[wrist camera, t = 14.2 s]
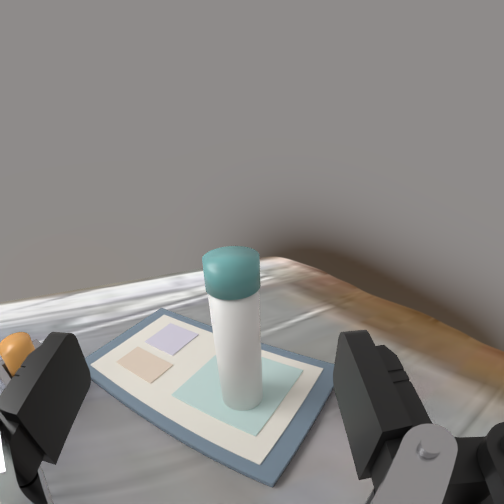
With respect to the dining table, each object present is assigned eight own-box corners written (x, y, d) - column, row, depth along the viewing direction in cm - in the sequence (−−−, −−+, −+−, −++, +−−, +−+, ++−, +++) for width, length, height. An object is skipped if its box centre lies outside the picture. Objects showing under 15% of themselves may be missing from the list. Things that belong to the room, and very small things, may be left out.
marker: (212, 401, 23) (190, 261, 19) (236, 376, 26) (224, 243, 21) (249, 417, 22) (238, 273, 17) (271, 389, 24) (269, 251, 20)
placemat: (77, 368, 27) (75, 362, 27) (162, 311, 37) (161, 306, 37) (272, 487, 16) (272, 483, 16) (342, 370, 27) (343, 364, 26)
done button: (11, 376, 23) (-6, 344, 21) (37, 360, 26) (22, 327, 24) (23, 394, 21) (4, 360, 20) (51, 376, 24) (35, 341, 22)
